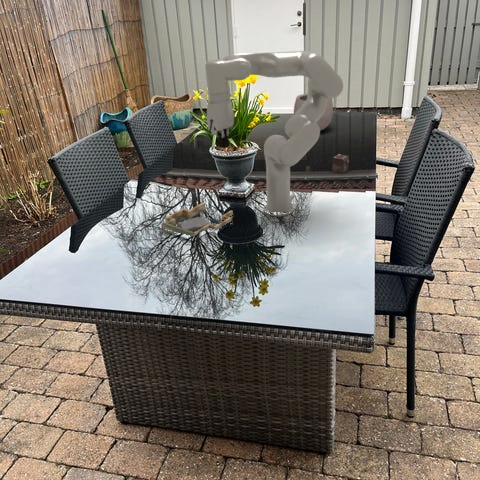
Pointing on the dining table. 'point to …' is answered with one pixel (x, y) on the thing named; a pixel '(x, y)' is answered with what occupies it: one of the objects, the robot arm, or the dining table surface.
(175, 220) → the box
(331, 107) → the plant pot
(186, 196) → the dining table surface
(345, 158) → the box
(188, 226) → the stone block
